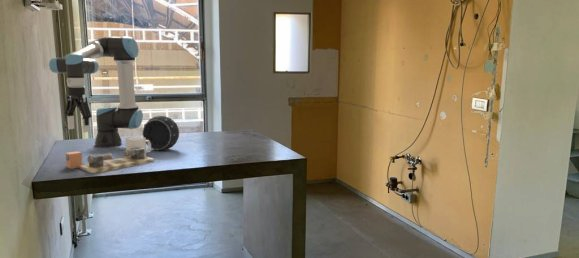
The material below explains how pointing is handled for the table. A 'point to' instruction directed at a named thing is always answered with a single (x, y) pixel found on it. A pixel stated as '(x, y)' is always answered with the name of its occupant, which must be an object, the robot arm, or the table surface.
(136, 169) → the table surface
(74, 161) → the coupler
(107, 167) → the shaft bench
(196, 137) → the table surface
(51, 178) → the table surface
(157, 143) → the black drum
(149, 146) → the mug
